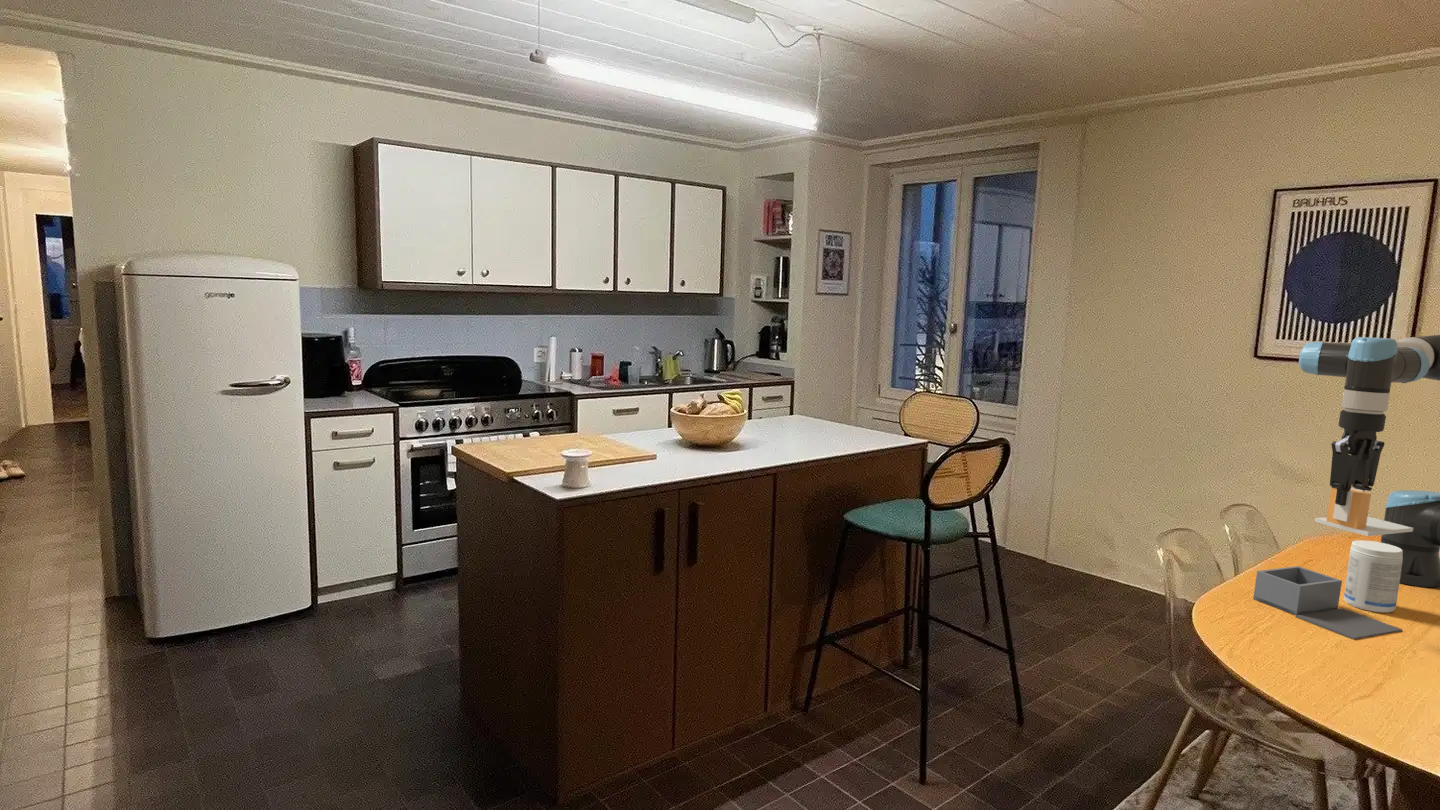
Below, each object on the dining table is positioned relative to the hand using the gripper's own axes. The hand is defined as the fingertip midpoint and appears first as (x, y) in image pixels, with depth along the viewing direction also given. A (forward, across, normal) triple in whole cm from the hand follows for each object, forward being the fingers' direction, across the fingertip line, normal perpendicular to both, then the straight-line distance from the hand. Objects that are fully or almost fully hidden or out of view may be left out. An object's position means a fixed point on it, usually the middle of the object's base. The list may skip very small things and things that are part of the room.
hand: (1346, 519), depth 169 cm
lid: (+2, -6, 0) cm, 6 cm away
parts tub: (+24, -6, -11) cm, 28 cm away
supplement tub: (+25, -23, -6) cm, 34 cm away
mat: (+24, -6, 0) cm, 25 cm away
